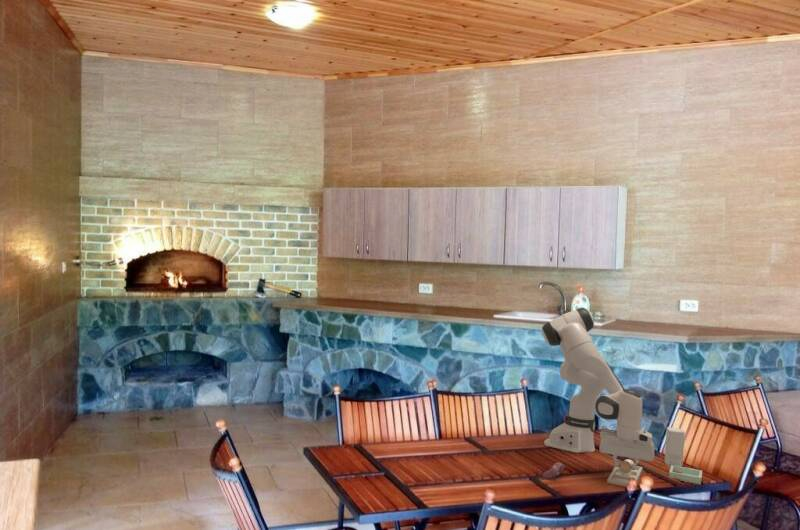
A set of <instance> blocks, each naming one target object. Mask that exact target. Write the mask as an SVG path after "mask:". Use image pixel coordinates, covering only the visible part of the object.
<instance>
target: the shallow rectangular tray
mask: <svg viewBox="0 0 800 530" xmlns="http://www.w3.org/2000/svg"><path fill="white" fill-rule="evenodd" d="M619 465H620V464H619ZM642 471H643V467H642V466H638V465H636V469H635V470H632V473H631V475H629V476H624V475H622V474H621V473H620V469H619V467H615V466H614V468H613V469H612V471H611V473H610V474H609V476H608V478H607V479H606V480H607V481H606V483H607V484H610V485H611V484H612V485H616V486H623V487H626V488H628V487H627V484H628V481H629V479H631V478H634V479H635V480H636V481H637V482H638V481H639V479H640V476H641V474H642Z"/></svg>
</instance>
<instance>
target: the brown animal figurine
mask: <svg viewBox="0 0 800 530" xmlns="http://www.w3.org/2000/svg"><path fill="white" fill-rule="evenodd" d="M564 468H565V464H563V462H562V463H561V462H555V463H554V464H553V465H552V466H551V467H550V469H548V470H546V471H544V472H543V474H542V478H544V479H551V478H552V479H553V480H554V479H555V478H556V477H559V476H560V474H561V472H563V470H564Z"/></svg>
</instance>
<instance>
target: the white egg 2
mask: <svg viewBox="0 0 800 530" xmlns="http://www.w3.org/2000/svg"><path fill="white" fill-rule="evenodd" d="M620 473H621V474H622V475H624V476H629V475H631V473H632V470H631V471H630V472H629V473H622V472H621V471H620Z"/></svg>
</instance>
